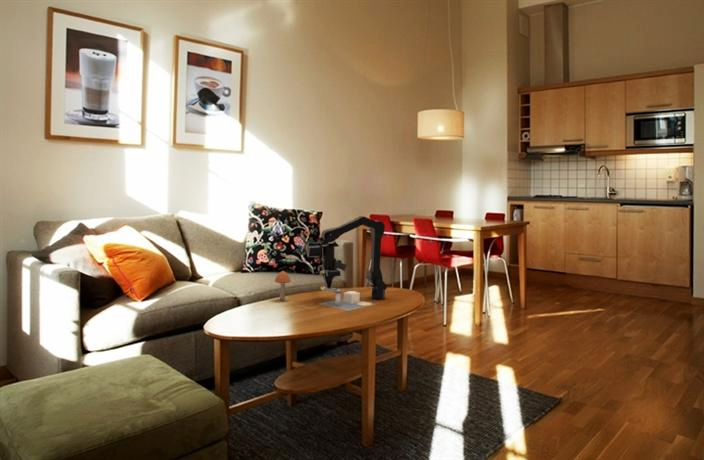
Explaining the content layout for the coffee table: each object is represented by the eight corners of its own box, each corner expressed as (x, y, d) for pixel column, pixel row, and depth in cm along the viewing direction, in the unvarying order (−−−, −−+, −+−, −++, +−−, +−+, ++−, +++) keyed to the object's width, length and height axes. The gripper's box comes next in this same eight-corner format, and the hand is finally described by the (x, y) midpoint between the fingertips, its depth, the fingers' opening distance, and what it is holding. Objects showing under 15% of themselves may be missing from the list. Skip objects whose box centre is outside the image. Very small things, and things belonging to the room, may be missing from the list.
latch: (343, 292, 237) (343, 289, 237) (338, 293, 234) (338, 290, 234) (325, 288, 245) (325, 286, 245) (319, 289, 243) (319, 287, 242)
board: (346, 300, 254) (346, 285, 254) (376, 306, 240) (376, 291, 240) (317, 306, 241) (317, 291, 240) (347, 313, 227) (347, 297, 226)
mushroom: (288, 302, 247) (287, 272, 246) (272, 302, 249) (272, 271, 248) (293, 299, 255) (293, 269, 254) (278, 298, 257) (277, 269, 256)
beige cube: (351, 300, 248) (351, 290, 247) (359, 302, 244) (359, 291, 243) (343, 302, 244) (343, 291, 243) (351, 304, 240) (351, 293, 240)
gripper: (350, 257, 237) (351, 290, 238) (338, 253, 254) (339, 283, 256) (327, 259, 233) (328, 292, 234) (317, 254, 251) (317, 285, 252)
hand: (328, 288), depth 244 cm, fingers closed
